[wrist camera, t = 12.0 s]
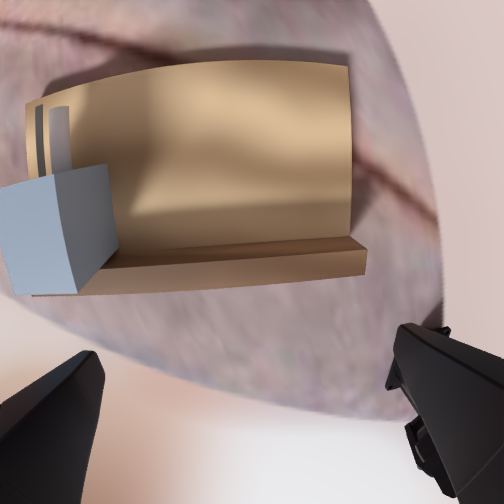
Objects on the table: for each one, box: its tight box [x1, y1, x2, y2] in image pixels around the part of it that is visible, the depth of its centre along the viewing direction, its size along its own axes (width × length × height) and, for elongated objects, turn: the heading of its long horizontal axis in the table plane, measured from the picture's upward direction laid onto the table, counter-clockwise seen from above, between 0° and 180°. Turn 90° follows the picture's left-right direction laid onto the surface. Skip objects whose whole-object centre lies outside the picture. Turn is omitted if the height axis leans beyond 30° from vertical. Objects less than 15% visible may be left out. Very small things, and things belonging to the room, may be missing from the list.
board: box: [26, 60, 367, 297], centre depth 15 cm, size 12×20×4 cm, turn 92°
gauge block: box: [0, 106, 119, 295], centre depth 12 cm, size 8×4×6 cm, turn 2°
